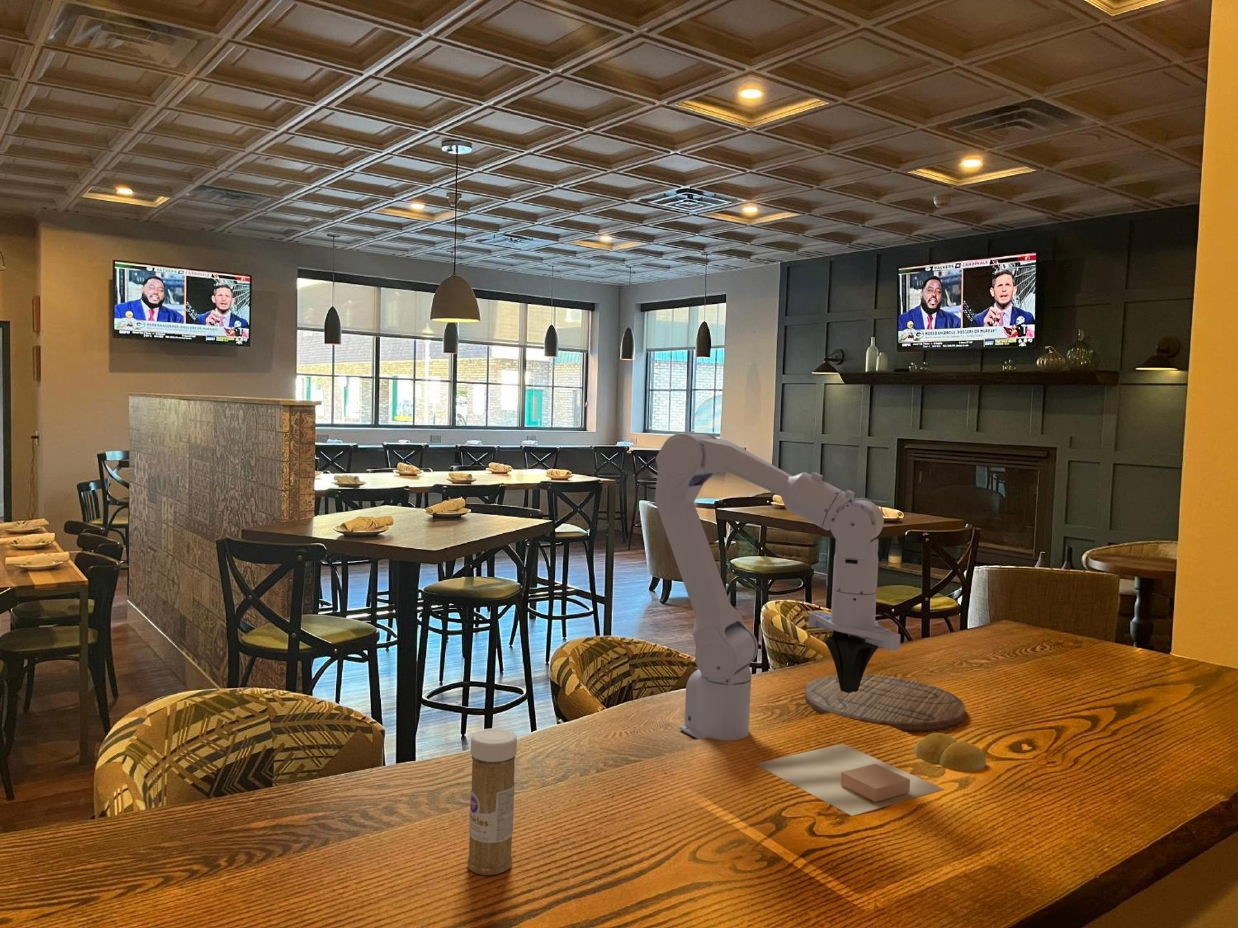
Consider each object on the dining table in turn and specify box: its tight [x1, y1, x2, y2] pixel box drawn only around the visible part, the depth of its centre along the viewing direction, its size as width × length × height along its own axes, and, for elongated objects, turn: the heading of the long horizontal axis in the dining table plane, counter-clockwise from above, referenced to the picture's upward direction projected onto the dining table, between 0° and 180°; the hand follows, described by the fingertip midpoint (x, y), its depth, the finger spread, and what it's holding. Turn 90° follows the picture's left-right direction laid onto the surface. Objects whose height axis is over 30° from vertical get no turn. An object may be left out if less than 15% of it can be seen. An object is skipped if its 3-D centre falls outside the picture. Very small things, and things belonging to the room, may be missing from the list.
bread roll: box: [913, 732, 987, 772], centre depth 122 cm, size 8×9×4 cm
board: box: [754, 743, 945, 817], centre depth 114 cm, size 17×16×1 cm
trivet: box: [804, 673, 966, 733], centre depth 146 cm, size 25×25×2 cm
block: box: [841, 764, 910, 802], centre depth 110 cm, size 2×6×6 cm
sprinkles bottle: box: [467, 727, 518, 876], centre depth 90 cm, size 5×5×13 cm
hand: (849, 690), depth 120 cm, fingers closed
